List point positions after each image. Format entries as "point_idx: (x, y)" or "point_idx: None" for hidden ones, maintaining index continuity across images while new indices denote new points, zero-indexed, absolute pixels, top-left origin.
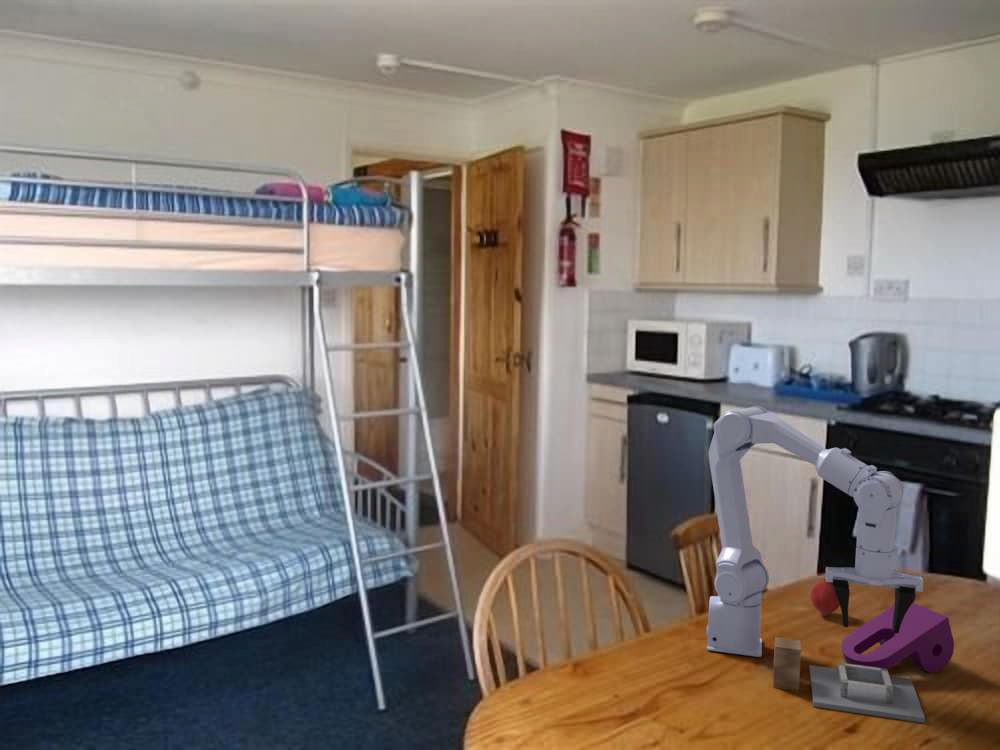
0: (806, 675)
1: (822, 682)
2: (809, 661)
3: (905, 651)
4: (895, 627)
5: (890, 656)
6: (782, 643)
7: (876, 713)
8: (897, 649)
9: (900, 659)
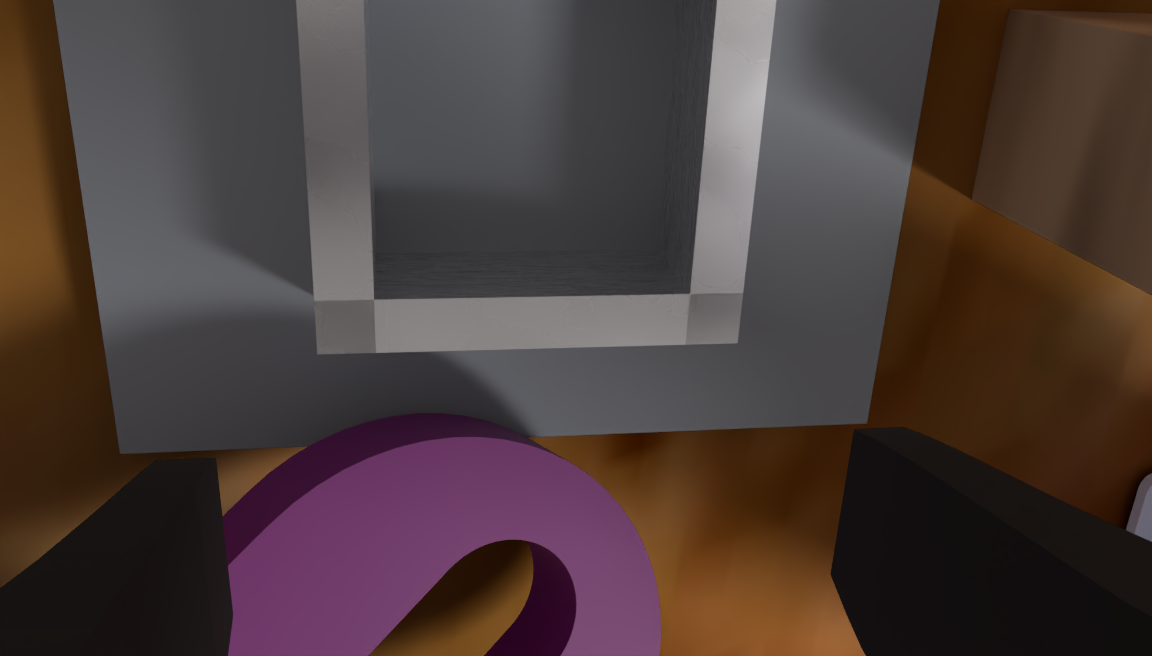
0: (891, 308)
1: (833, 146)
2: (824, 538)
3: None
4: (183, 486)
5: (275, 513)
6: None
7: None
8: None
9: None
